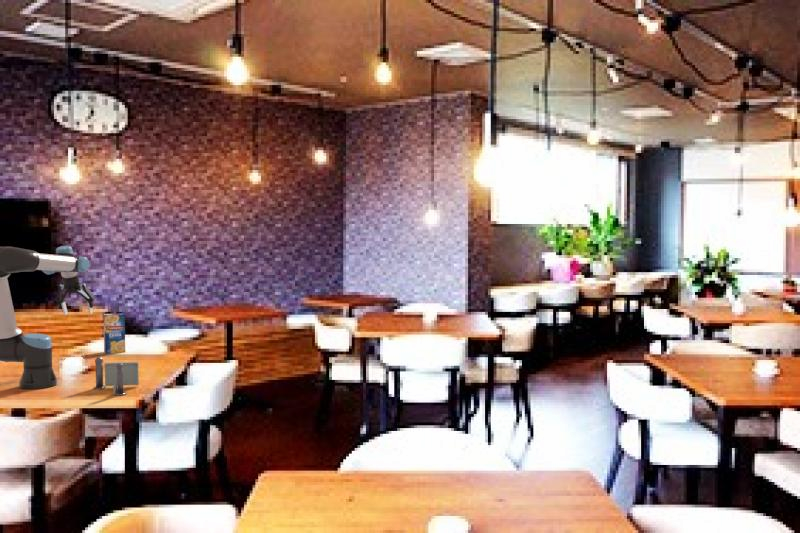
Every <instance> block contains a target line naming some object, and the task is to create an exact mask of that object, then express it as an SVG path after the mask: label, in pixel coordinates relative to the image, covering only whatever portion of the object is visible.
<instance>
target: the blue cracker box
mask: <svg viewBox="0 0 800 533" xmlns="http://www.w3.org/2000/svg"><path fill="white" fill-rule="evenodd" d="M102 315H103V316H102V318H103V319H102V320H103V324H102V325H103V352H104V354H105V355H107V354H120V353H121V354H122V353H126V323H125V321H126V320H125V315H126V314H125V313H123V312H122V313H105V314H104V313H103V314H102Z"/></svg>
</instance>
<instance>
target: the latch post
mask: <svg viewBox="0 0 800 533" xmlns="http://www.w3.org/2000/svg"><path fill="white" fill-rule="evenodd" d="M117 363H118V362H117ZM116 367H117V385H113V386H112V394H113V395H114V396H118V397H119V396H126V395H127V394H128V392H126V391H124V385H123V364H122V363H118V364H117V366H116Z"/></svg>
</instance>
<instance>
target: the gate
mask: <svg viewBox="0 0 800 533" xmlns="http://www.w3.org/2000/svg"><path fill="white" fill-rule="evenodd" d="M118 363H122V364H123V386H138V385H139V379H140V376H139V361H131V362H130V361H125V362H122V361H121V362H105V363H104V386H106V387H113V385H117V367H116V366H117V364H118Z"/></svg>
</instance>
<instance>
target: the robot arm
mask: <svg viewBox="0 0 800 533" xmlns="http://www.w3.org/2000/svg"><path fill="white" fill-rule="evenodd" d="M74 254H75V253H74V252H73V248H72V246H71V245H61V246H59V247H57V248H55V254H49V253H39V252H37V251H36V250H34V249H33V250H31V249H25V248H20V247H16V246H15V247H14V246H0V362H4V363H23V371H22V374H21V378H20V381H19V389H22V390H23V389H24V390H37V389H47V388H51V387H54V386H56V385H58V378H57V375H56V374H55V371H54V369H53V343H52V338H51V336H50V335H49V334H48V335H47V334H44V333H26V334H24V333H23V330H22V329H21V328H19V327H18V324H17V323H18V322H17V319H16V318H17V317H16V314H15V309H14V305H13V300H12V299H13V298H12V295H11V290H10V286H9V280H8V278H9V277H10V276H11V274H14V273H21V272H29V273H30V272H35V271H36V270H37V271H42V272H43V273H44V274H46V275H52V274H55V273H60V274H61V278H62V279H61V280H62V282H63V283H60V284H59V285H58V288H57V289H58V291H57V294H56V297H55V303H59V306H60V309H61V310H62V312H63V316H66V315H67V314H68V313H69V312H68V308H67V304H66V303H67V302H66V301H65V300H66V298H67V297H68V295H69V294H78V295H80V296H81V297H82V298H83V299H84V300H86V301H87V302H86V305H87V310H88V314H89V315H92V314H93V313H94V311H93V310H94V309H93V307H94V304H93V302H94V301H96V297H95V295H94V294H93V293H92V291H91V290H90V289H89V287H88V286H87V283H86V282H83V283H80V278H79V274H78V273H86V272H87V271H88V270H89V269H90V261H89V259H88V258H87V257H86V256H74ZM64 289H65V291H64ZM63 291H64V294H63ZM62 294H63V295H62Z"/></svg>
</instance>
